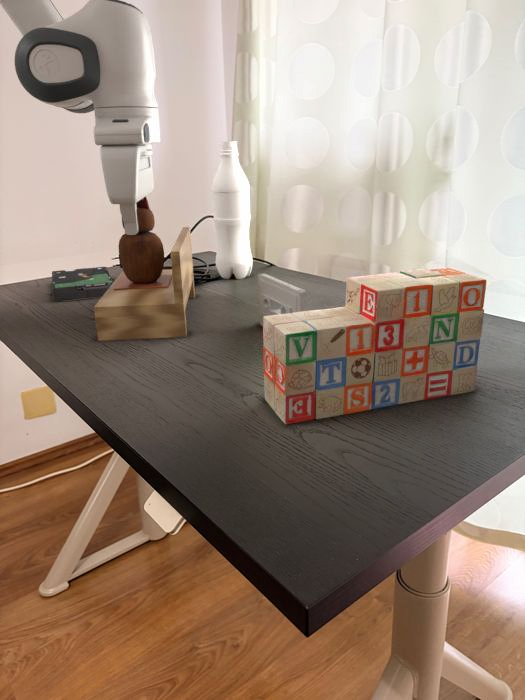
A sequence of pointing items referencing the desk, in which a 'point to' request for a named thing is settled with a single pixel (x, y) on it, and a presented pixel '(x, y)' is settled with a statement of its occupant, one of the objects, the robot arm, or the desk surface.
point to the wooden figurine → (142, 249)
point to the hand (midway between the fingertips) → (137, 229)
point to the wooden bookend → (149, 301)
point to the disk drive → (80, 283)
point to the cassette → (278, 297)
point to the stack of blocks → (376, 345)
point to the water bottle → (231, 215)
